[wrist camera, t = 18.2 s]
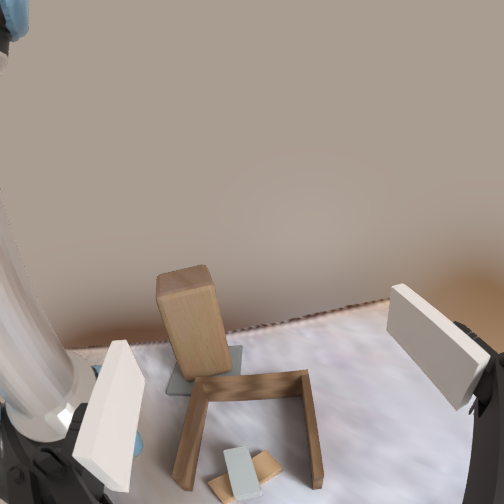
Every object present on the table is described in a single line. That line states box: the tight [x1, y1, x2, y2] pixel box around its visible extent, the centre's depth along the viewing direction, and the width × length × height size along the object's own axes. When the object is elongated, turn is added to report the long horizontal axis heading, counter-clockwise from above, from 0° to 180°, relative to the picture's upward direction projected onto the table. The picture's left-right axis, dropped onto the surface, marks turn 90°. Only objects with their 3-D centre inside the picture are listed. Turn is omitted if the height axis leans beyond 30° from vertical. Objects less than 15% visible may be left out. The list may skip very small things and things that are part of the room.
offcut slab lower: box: [207, 450, 283, 504], centre depth 31 cm, size 10×4×2 cm, turn 125°
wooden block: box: [156, 265, 233, 381], centre depth 53 cm, size 10×10×20 cm
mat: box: [166, 345, 243, 395], centre depth 55 cm, size 14×14×1 cm
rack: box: [172, 369, 324, 491], centre depth 37 cm, size 19×20×6 cm
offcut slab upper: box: [223, 445, 263, 501], centre depth 30 cm, size 8×4×2 cm, turn 13°
